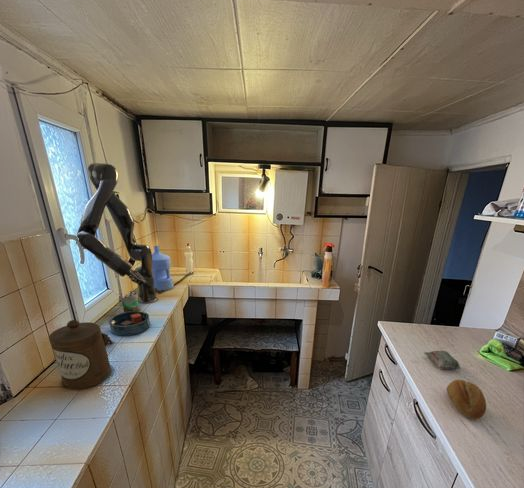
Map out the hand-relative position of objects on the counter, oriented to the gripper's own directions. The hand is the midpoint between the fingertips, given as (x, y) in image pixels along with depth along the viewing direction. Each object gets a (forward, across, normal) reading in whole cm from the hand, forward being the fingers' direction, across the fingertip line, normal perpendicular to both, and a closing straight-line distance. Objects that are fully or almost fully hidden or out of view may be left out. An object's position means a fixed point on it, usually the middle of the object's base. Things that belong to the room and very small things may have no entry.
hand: (149, 286), depth 142 cm
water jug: (+17, +48, +7) cm, 51 cm away
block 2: (+5, -7, +17) cm, 19 cm away
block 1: (+3, -15, +20) cm, 25 cm away
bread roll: (+76, -106, -52) cm, 140 cm away
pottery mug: (-4, -26, +28) cm, 39 cm away
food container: (+5, +10, +19) cm, 22 cm away
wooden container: (-5, -47, +29) cm, 56 cm away
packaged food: (+86, -86, -63) cm, 137 cm away
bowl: (+4, -10, +20) cm, 22 cm away
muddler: (+3, 0, +7) cm, 8 cm away
